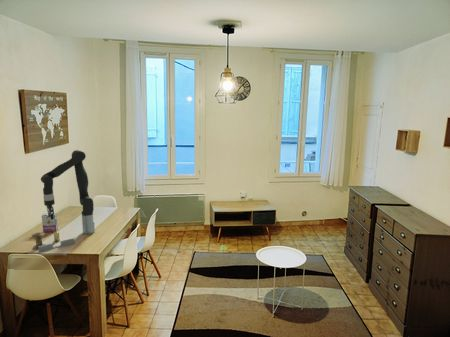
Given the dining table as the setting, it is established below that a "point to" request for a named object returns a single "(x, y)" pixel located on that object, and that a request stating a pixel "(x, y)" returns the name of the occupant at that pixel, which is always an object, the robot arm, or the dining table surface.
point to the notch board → (50, 246)
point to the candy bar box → (49, 223)
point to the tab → (56, 236)
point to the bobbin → (38, 239)
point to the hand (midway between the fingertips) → (51, 217)
